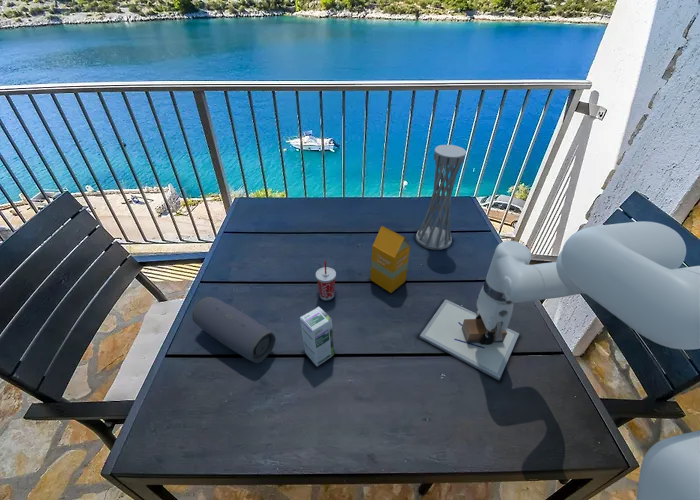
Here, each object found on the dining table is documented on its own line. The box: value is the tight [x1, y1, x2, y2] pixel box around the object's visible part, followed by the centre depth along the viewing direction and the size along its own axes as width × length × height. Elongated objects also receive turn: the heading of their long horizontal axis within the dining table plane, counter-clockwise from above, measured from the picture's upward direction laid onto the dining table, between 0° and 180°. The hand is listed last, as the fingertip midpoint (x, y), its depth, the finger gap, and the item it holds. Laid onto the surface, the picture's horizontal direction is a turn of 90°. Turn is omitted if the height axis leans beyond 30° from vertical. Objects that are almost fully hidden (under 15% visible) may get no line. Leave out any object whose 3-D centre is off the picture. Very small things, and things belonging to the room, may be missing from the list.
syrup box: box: [299, 306, 335, 367], centre depth 88 cm, size 6×6×14 cm
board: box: [419, 299, 520, 381], centre depth 96 cm, size 22×17×1 cm
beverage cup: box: [315, 260, 337, 301], centre depth 105 cm, size 6×6×14 cm
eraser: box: [461, 319, 507, 343], centre depth 95 cm, size 5×10×4 cm, turn 92°
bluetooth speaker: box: [191, 296, 276, 364], centre depth 93 cm, size 23×9×10 cm, turn 57°
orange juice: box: [370, 225, 411, 294], centre depth 108 cm, size 8×9×20 cm
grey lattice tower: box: [415, 144, 467, 250], centre depth 122 cm, size 14×13×35 cm
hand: (482, 334), depth 96 cm, fingers closed on eraser, 5 cm apart
